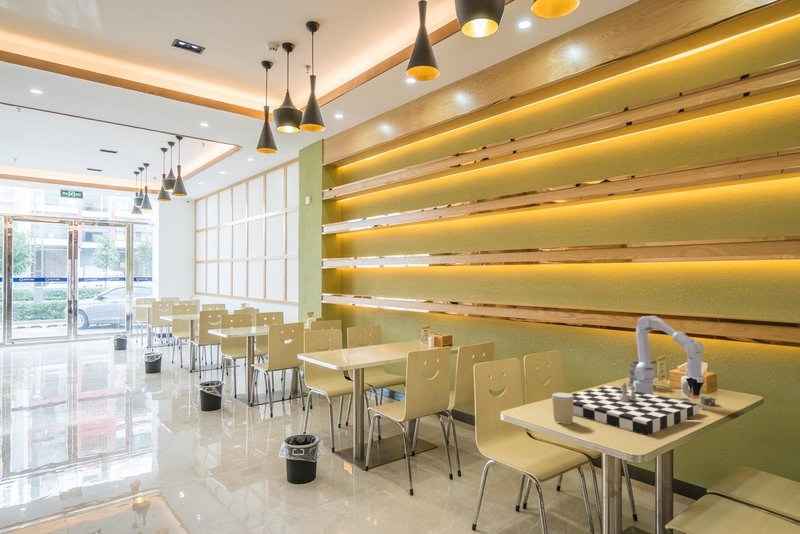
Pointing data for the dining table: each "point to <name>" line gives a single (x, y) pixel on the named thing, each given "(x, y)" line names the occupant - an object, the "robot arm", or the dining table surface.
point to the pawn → (694, 395)
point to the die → (708, 401)
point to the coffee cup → (563, 407)
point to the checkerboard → (631, 408)
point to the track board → (688, 401)
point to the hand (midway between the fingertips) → (694, 394)
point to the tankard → (632, 371)
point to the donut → (686, 389)
